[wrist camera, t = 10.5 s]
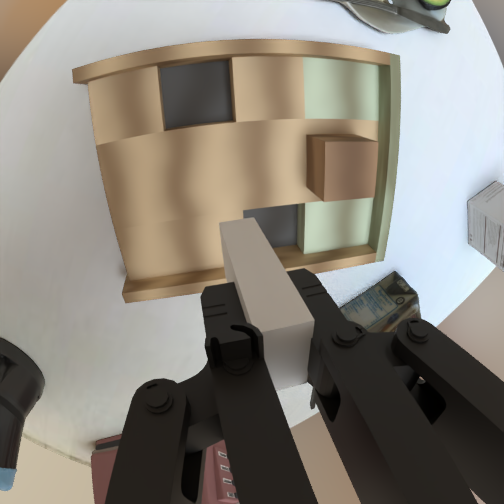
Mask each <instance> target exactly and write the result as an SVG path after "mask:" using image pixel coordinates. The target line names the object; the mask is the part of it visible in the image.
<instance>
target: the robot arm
mask: <svg viewBox="0 0 504 504" xmlns="http://www.w3.org/2000/svg"><path fill="white" fill-rule="evenodd" d="M219 228H220V237H221V245H222V253H223V261H224V269H225V277H226V280H227V283H224V284H218V285H212V286H206V287H205V288H204V290H203V292H202V295H201V304H202V311H203V318H204V325H205V332H206V339H205V350H206V354H207V358H208V361H207V364H206V365H205V367H204V368H203V369H202V370H201V371H200V372H199V373H198V374H197V375H195V376H193V377H191V378H189V379H187V380H185V381H183V382H180V383H176V382H175V381H173V380H169V379H165V378H163V379H153V380H151V381H148V382H146V383H144V384H143V385H142V386H140V387H139V388H138V389H137V390H136V392H135V394H134V396H133V398H132V401H131V404H130V408H129V411H128V415H127V418H126V421H125V425H124V428H123V432H122V435H121V439H120V443H119V446H118V450H117V454H116V458H115V462H114V466H113V470H112V474H111V478H110V482H109V486H108V490H107V495H106V499H105V504H201V502H202V492H203V481H204V471H205V462H206V452H207V447H209V446H211V445H214V444H216V443H218V442H220V441H222V440H224V441H225V446H226V450H227V455H228V459H229V464H230V468H231V472H232V476H233V480H234V484H235V488H236V492H237V496H238V500H239V504H318V502H317V499H316V497H315V494H314V492H313V489H312V486H311V484H310V481H309V479H308V476H307V474H306V471H305V469H304V466H303V463H302V461H301V458H300V455H299V452H298V450H297V447H296V445H295V442H294V439H293V436H292V434H291V431H290V428H289V426H288V423H287V420H286V417H285V415H284V412H283V409H282V407H281V404H280V401H279V398H278V395H277V393H276V391H277V390H281V389H285V388H289V387H293V386H297V385H300V384H304V383H307V378H308V373H309V375H310V378H311V380H312V382H313V390H312V395H311V401H310V406H311V409H314V408H315V403H316V404H317V406H318V409H319V411H320V413H321V415H322V418H323V420H324V422H325V424H326V427H327V429H328V431H329V433H330V435H331V438H332V440H333V442H334V444H335V447H336V449H337V451H338V453H339V456H340V458H341V460H342V462H343V465H344V466H345V469H346V471H347V473H348V476H349V478H350V480H351V482H352V485H353V487H354V489H355V491H356V493H357V496H358V498H359V500H360V502H361V504H478V503H477V501H476V499H475V498H474V495H473V494H472V492H471V490H472V491H473V492H474V493H475V494H476V495H477V496H478V497H479V498H480V499H481V500H483V501H484V502H485V503H486V504H504V382H503V381H502V380H501V379H499V378H498V377H497V376H496V375H495V374H493V373H492V372H491V371H490V370H489V369H487V368H486V367H485V366H484V365H483V364H481V363H480V362H479V361H478V360H476V359H475V358H474V357H472V356H471V355H470V354H469V353H468V352H466V351H465V350H464V349H463V348H461V347H460V346H459V345H458V344H456V343H455V342H454V341H452V340H451V339H450V338H449V337H447V336H446V335H445V334H443V333H442V332H441V331H440V330H438V329H437V328H436V327H434V326H433V325H432V324H431V323H429V322H427V321H425V320H423V319H419V318H407V319H405V320H402V321H401V322H400V323H399V324H398V325H397V328H396V331H395V332H378V333H375V332H368V331H367V330H366V329H365V328H364V327H363V326H362V325H360V324H358V323H356V322H354V321H348V320H347V319H346V318H345V316H344V315H343V313H342V312H341V310H340V309H339V308H338V306H337V305H336V303H335V302H334V300H333V299H332V298H331V296H330V295H329V293H327V290H326V289H325V288H324V286H322V283H321V282H320V281H319V279H318V278H317V276H316V275H315V274H313V273H312V272H310V271H308V270H307V269H305V268H301V269H296V270H291V271H286V270H285V269H284V267H283V265H282V264H281V262H280V260H279V259H278V257H277V255H276V254H275V252H274V250H273V249H272V247H271V245H270V244H269V242H268V240H267V239H266V237H265V235H264V234H263V232H262V230H261V229H260V227H259V225H258V224H257V222H256V220H255V219H254V217H253V218H246V219H239V220H232V221H225V222H219ZM420 376H421V377H422V378H423V379H424V380H421V379H420V378H419V377H420ZM44 385H45V381H44V378H43V375H42V373H41V371H40V370H39V368H38V367H37V366H36V365H35V363H34V362H33V361H32V360H31V359H30V358H29V357H28V356H27V355H26V354H24V353H23V352H22V351H21V350H19V349H18V348H17V347H15V346H14V345H12V344H11V343H9V342H7V341H5V340H3V339H1V338H0V490H2V491H8V490H10V489H11V488H12V486H13V482H14V477H15V473H16V471H17V469H16V465H17V459H18V453H19V447H20V441H21V436H22V431H23V427H24V422H25V419H26V417H27V415H28V414H29V413H30V411H31V410H32V408H33V407H34V405H35V403H36V402H37V401H38V400H39V399H40V398H41V396H42V392H43V389H44ZM470 489H471V490H470Z"/></svg>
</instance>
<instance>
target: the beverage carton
mask: <svg viewBox="0 0 504 504" xmlns="http://www.w3.org/2000/svg"><path fill="white" fill-rule="evenodd" d="M340 310H341V312H342V313H343V315H344V316H345V318H346V319H347V320H348V321H354V322H356V323H358V324H360V325H362V326H363V327H364V328H365V329H366V330H367V331H368V332H375V333H378V332H395V331H396V328H397V325H398V324H399V323H400V322H401V321H402V320H405V319H407V318H419V319H421V313H420V306H419V298H418V294H417V292H416V291H415V290H414V289H413V288H412V287H410V285H409V284H408V283H407V282H406V281H405V279H404V278H403V277H401V276H400V275H399V274H398V273H397V272H396V271H394V272H393V273H391V274H390V275H389V276H387V277H386V278H385V279H383V280H382V281H380V282H379V283H377V284H376V285H374V286H373V287H371V288H370V289H368V290H367V291H365V292H364V293H362V294H361V295H360V296H358V297H357V298H355V299H354V300H352V301H351V302H349V303H348V304H346V305H345V306H343V307H341V308H340ZM307 382H308V383H309V384H311V385H312V386H313V382H312V380H311V378H310V375H309V373H308V378H307Z"/></svg>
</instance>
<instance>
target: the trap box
mask: <svg viewBox="0 0 504 504" xmlns="http://www.w3.org/2000/svg"><path fill="white" fill-rule="evenodd" d="M72 73H73V83H76V84H88V91H89V100H90V108H91V116H92V123H93V130H94V137H95V143H96V149H97V154H98V160H99V165H100V170H101V175H102V180H103V184H104V189H105V193H106V198H107V202H108V206H109V210H110V214H111V218H112V222H113V226H114V229H115V233H116V237H117V240H118V244H119V247H120V251H121V254H122V257H123V261H124V264H125V267H126V270H127V276H126V280H125V283H124V287H123V291H122V295H123V298H124V301H125V303H131V302H138V301H146V300H153V299H161V298H168V297H175V296H182V295H189V294H195V293H202V292H203V290H204V288H205V287H206V286H212V285H218V284H224V283H227V280H226V277H225V269H224V261H223V253H222V245H221V237H220V228H219V222H225V221H232V220H239V219H246V218H253V217H254V219H255V220H256V222H257V224H258V225H259V227H260V229H261V230H262V232H263V234H264V235H265V237H266V239H267V240H268V242H269V244H270V245H271V247H272V249H273V250H274V252H275V254H276V255H277V257H278V259H279V260H280V262H281V264H282V265H283V267H284V269H285V270H286V271H291V270H296V269H301V268H305V269H307V270H308V271H310V272H312V273H313V274H316V273H322V272H327V271H332V270H338V269H343V268H348V267H353V266H358V265H364V264H369V263H374V262H379V261H384V257H385V251H386V246H387V240H388V234H389V228H390V222H391V215H392V208H393V201H394V193H395V184H396V175H397V164H398V152H399V137H400V112H401V73H400V55H395V54H391V53H387V52H382V51H377V50H372V49H366V48H361V47H355V46H348V45H341V44H333V43H324V42H314V41H302V40H282V39H238V40H219V41H206V42H196V43H187V44H180V45H172V46H166V47H160V48H154V49H149V50H143V51H138V52H134V53H129V54H125V55H121V56H116V57H112V58H109V59H105V60H101V61H98V62H94V63H91V64H87V65H84V66H81V67H78V68H75V69H72ZM313 134H356V135H359V136H362V137H365V138H368V139H371V140H374V141H377V142H379V143H378V161H377V174H376V186H375V196H374V198H363V199H352V200H341V201H331V202H323V201H322V200H321V199H320V198H318V197H317V196H316V195H315V194H314V193H312V192H311V191H310V190H309V189H308V188H307V187H306V177H307V157H306V135H313Z"/></svg>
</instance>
